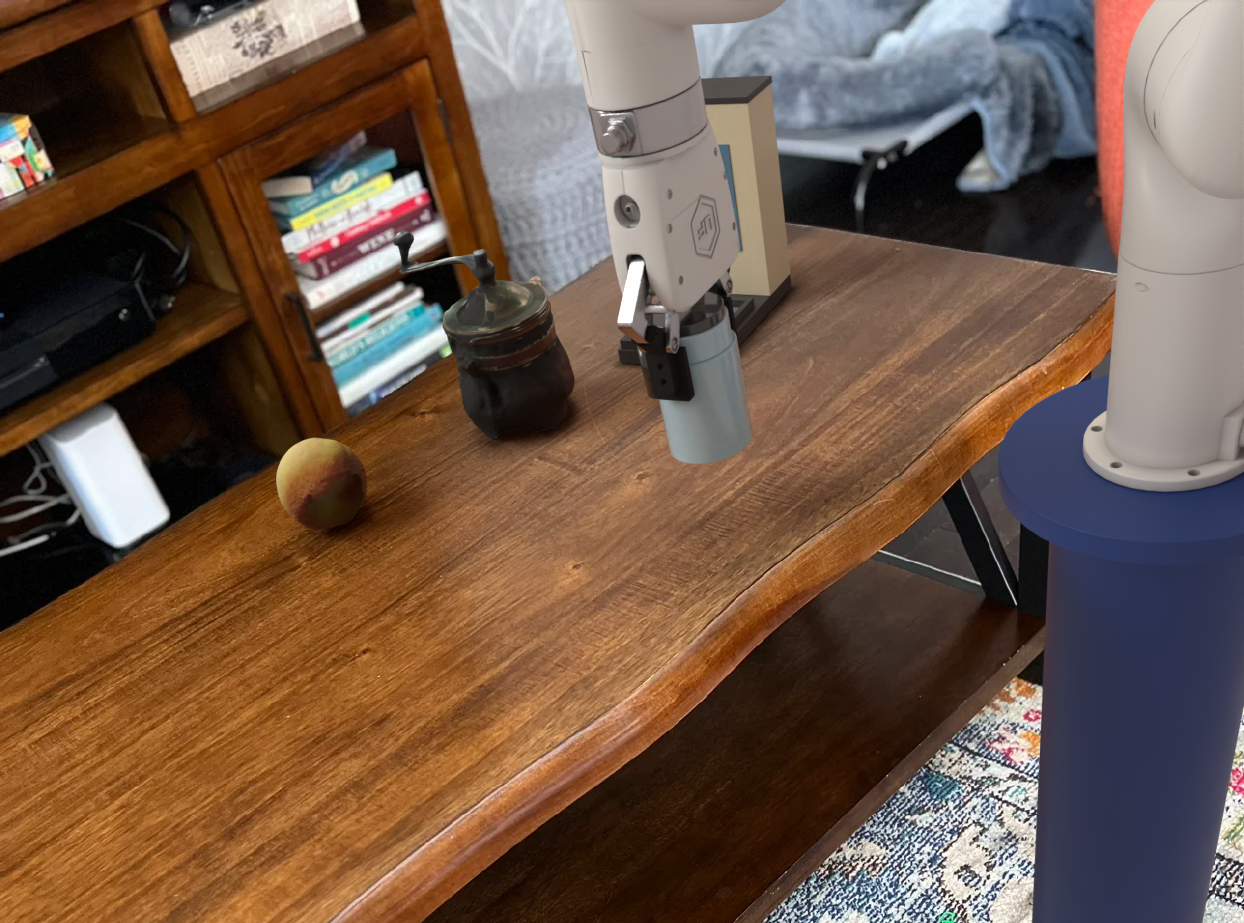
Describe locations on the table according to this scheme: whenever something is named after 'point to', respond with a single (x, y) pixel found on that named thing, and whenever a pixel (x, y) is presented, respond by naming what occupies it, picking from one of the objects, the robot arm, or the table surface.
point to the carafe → (706, 387)
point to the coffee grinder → (503, 348)
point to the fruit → (321, 483)
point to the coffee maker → (747, 198)
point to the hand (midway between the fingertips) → (697, 371)
